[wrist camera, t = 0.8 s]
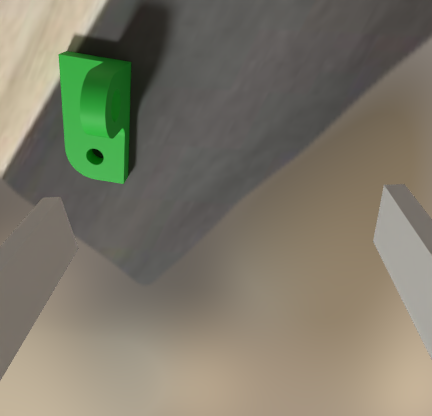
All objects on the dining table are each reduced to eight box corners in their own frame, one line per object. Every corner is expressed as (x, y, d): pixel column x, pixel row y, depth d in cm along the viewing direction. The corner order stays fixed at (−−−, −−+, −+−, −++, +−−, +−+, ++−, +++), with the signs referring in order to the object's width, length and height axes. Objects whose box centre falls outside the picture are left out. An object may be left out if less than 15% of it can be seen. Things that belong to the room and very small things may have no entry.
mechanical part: (67, 50, 34) (24, 67, 27) (131, 61, 34) (104, 80, 28) (74, 166, 40) (40, 203, 34) (128, 175, 41) (106, 213, 34)
